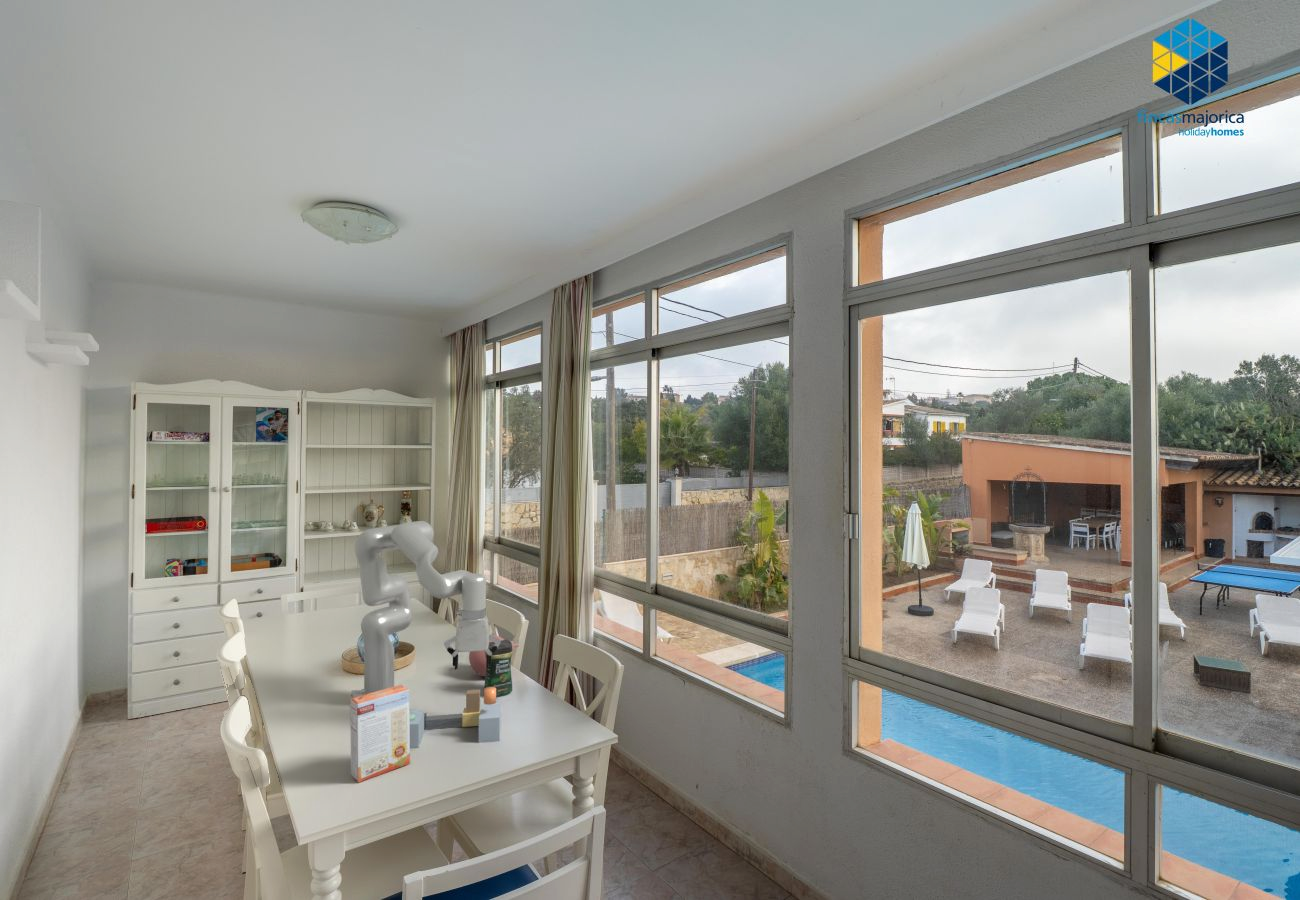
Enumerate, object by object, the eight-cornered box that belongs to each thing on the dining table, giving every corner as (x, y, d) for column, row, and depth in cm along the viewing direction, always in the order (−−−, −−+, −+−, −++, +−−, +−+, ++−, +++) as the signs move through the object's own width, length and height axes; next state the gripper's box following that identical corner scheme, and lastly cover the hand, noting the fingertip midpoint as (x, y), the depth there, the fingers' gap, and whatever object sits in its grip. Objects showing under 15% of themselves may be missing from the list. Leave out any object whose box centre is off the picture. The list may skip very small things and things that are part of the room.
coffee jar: (488, 699, 215) (489, 646, 215) (481, 692, 222) (481, 640, 222) (515, 693, 220) (515, 641, 220) (507, 686, 227) (507, 636, 227)
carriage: (462, 726, 193) (462, 695, 193) (464, 719, 198) (464, 689, 198) (482, 725, 194) (482, 694, 194) (483, 718, 199) (483, 687, 199)
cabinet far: (478, 742, 184) (478, 719, 184) (481, 727, 194) (481, 705, 194) (499, 740, 185) (499, 717, 185) (500, 726, 195) (500, 703, 195)
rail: (420, 730, 192) (420, 717, 192) (422, 726, 195) (422, 713, 195) (488, 724, 196) (488, 712, 196) (489, 720, 199) (489, 708, 199)
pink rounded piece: (528, 674, 239) (528, 635, 239) (477, 686, 227) (477, 644, 227) (511, 663, 252) (511, 625, 251) (463, 673, 240) (463, 634, 240)
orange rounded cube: (483, 705, 186) (483, 691, 186) (484, 700, 190) (484, 687, 190) (495, 704, 187) (495, 690, 187) (496, 699, 191) (496, 686, 191)
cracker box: (401, 756, 176) (401, 683, 175) (410, 764, 171) (410, 689, 171) (349, 774, 166) (349, 696, 166) (357, 783, 161) (357, 703, 161)
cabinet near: (393, 749, 179) (393, 722, 179) (400, 734, 189) (400, 707, 189) (418, 747, 181) (418, 720, 181) (424, 732, 191) (424, 706, 191)
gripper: (443, 617, 191) (441, 673, 191) (500, 616, 194) (499, 670, 194) (446, 611, 198) (445, 664, 198) (501, 609, 202) (500, 662, 202)
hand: (472, 667), depth 196 cm, fingers open, 9 cm apart
